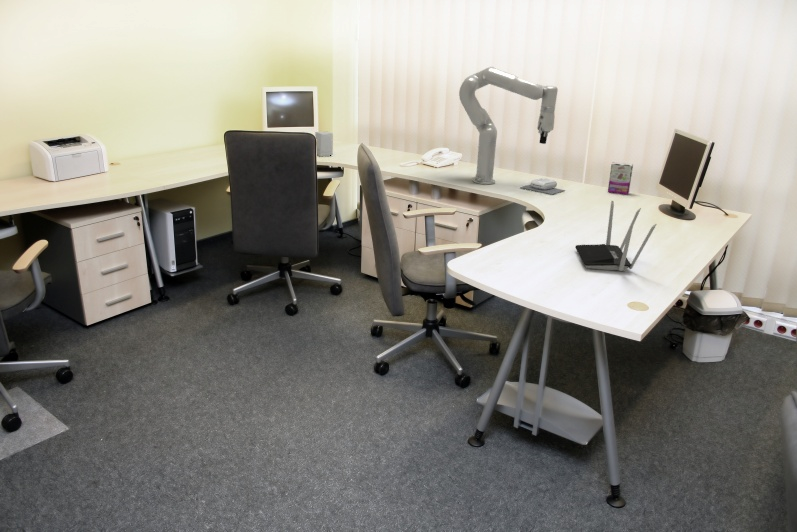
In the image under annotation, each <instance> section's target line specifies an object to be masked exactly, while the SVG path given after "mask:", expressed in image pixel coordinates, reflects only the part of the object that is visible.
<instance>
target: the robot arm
mask: <svg viewBox="0 0 797 532" xmlns="http://www.w3.org/2000/svg"><path fill="white" fill-rule="evenodd" d="M488 85H491V86H494V87H497V88H501V89H503V90H506V91H508V92H510V93H514V94H517V95H520V96H522V97H525V98H528V99H531V100H535V101H538V100H540V99H541V104H540V110H539V111H540V112H539V116H538V117H539V118H538V120H537V121H538V122H537V127H536V128H537V131H538V134H539V135H540V137H539V144H542V145H546V144H547V139H548V135H549V133H550V132H551V131H553V130H554V126H555V111H556V110H555V109H556V104H557V96H558V91H559V90H558V87H557V86H553V85H541V84H538V83H537V84H536V83H531V82H529V81H526V80H523V79H521V78H519V76H516V75H514V74H512V73H508V72H506V71H502V70H500V69H498V68H495V67H494V66H489V67H486V68H484V69H482V70H480V71H477V72H475V73H473V74H471V75H469V76H467V77H465V78H464V80H463V82H462V83H461V85H460V87H459V91H458V96H459V100H460V103H461V105H462V107H463V108H464V111H465V113H466V114H467V116H468V118H469V120H470V122H471V124H472V125H474V126H475V128H476V129H477V131H478V134H479V135H478V146H477V147H478V150H477V164H476V173H475V176H473V177H472V178H471V180H472V181H473V183H475V184H479V185H493V184H495V183H496V180H495V179H494V168H495V158H496V146H497V140H498V139H497V137H498V130H497V128H496V126H495V124H494V122H493V121H492V118H491V116H490V115H489V112H487V110H486V109H485V108H483V107H482V106H481V104H480V101H479V100H478V98H477V96H476V91H477V90H479V89H481V88H484V87H486V86H488Z"/></svg>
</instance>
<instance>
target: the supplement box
mask: <svg viewBox="0 0 797 532" xmlns="http://www.w3.org/2000/svg"><path fill="white" fill-rule="evenodd" d="M314 132H315V133H314V134H315V135H314V137H315V136H316V139H317V154H318V155H317V156H318V157H321V156H325V157H331V156H330V155H334V154H333V153H334V150H333V149H334V148H333V146H334V145H333V144H334V143H333V142H334V139H333V138H334V133H333V132H330V131H314Z"/></svg>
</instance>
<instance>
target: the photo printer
mask: <svg viewBox="0 0 797 532" xmlns="http://www.w3.org/2000/svg"><path fill="white" fill-rule="evenodd" d="M529 185H531V186H532V187H534V188H537V189H542V190H546V189H551V188H556V187H557V185H558V182H557V181H556V180H555V179H550V178H546V177H542V178H535V179H532V180H531V181H530V184H529Z"/></svg>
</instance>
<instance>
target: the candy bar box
mask: <svg viewBox="0 0 797 532" xmlns="http://www.w3.org/2000/svg"><path fill="white" fill-rule="evenodd" d="M633 168H634V164H633V163H626V162H625V163H624V162H615V161H613V162H612V163H611V166H610V174H609V181H608V186H607V193H608V192H609V193H610V194H617V195H618V194H619V195H627V196H628V195H629V193H630V189H631V181H632V175H633V174H632V173H633Z"/></svg>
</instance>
